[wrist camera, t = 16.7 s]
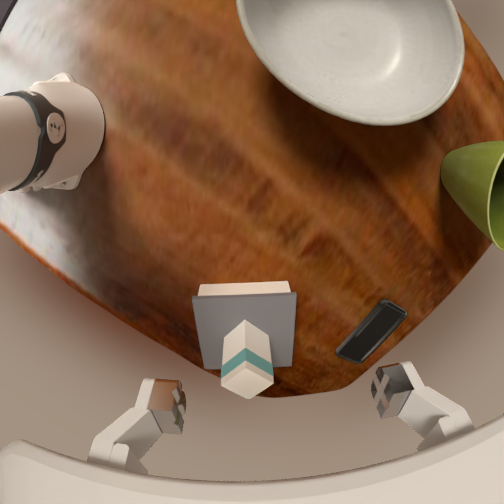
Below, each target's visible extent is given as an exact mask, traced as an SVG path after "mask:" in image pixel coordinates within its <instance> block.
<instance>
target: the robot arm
mask: <svg viewBox="0 0 504 504" xmlns="http://www.w3.org/2000/svg"><path fill="white" fill-rule="evenodd" d="M103 135H104V115H103V111H102V107H101V105H100V103H99V101H98V99H97V98H96V96H95V95H94V94H93V93H92V92H91V91H90V90H88V89H87V88H85V87H83V86H81V85H78V84H77V83H75V82H74V80H73V79H72V77H71V76H70V75H69V74H68V73H60V74H58V75H56V76H55V77H53V78H51V79H50V80H48V81H38V82H35V83H34V84H33V86H31V87H29V88H28V89H27V90H24V91H15V92H11V93H7V94H5V95H3V96H0V194H1V193H4V192H6V191H15V190H18V192H19V193H25V192H28V191H30V190H31V187H33V191H39V190H41V188H44V189H46V188H52V189H66V190H71V189H75V188H76V187H77V186H78V184H79V182H80V179H81V176H82V173H83V171H84V170H85V169H86V168H87V167H88V165H89V164H90V163H91V162H92V161H93V160H94V158H95V157H96V155H97V153H98V151H99V149H100V146H101V144H102V140H103ZM65 181H66V183H65ZM376 375H377V377H376V378H374V379H373V382H372V385H371V392H372V396H373V399H374V400H375V401H377V402H378V405H377V410H378V412H379V415H380V418H381V419H383V418H388V417H393V416H397V415H398V417H400V418H401V419H402V420H403V421H404V422H405V423H406V424H408V425H409V426H410V427H411V428H412V429H413V430H415V431H416V432H417V433H418V434H420V435H421V436H422V437H423V438H424V440H423V441H422V442H421V443H420V445H419V446H418V448H417V450H418V452H415V453H412V454H409V455H406V456H403V457H399V458H396V459H393V460H389V461H385V462H382V463H378V464H374V465H370V466H366V467H361V468H357V469H352V470H347V471H341V472H336V473H330V474H324V475H317V476H310V477H301V478H292V479H281V480H266V481H206V480H190V479H179V478H169V477H161V476H153V475H147V474H148V471H147V469H146V468H145V467H144V466H143V465H142V463H141V462H140V461H139V460H140V459H141V458H142V457H143V456H144V454H145V453H146V452H147V451H148V450H149V449H150V448H151V447H152V446H153V444H154V443H155V442H156V441H157V440H158V439H159V438H160V436H161V435H162V433H169V434H182V430H183V424H184V420H183V418H182V415H183V414H185V410H186V398H185V394H184V392H183V391H182V390H181V389H182V384H181V381H179V380H165V379H152V378H144V380H143V381H142V384H141V387H140V391H139V394H138V397H137V401H136V404H135V407H134V408H130V409H129V410H128V411H127V412H125V413H124V414H123V415H122V416H121V417H119V418H118V419H117V420H116V421H115V422H113V423H112V424H111V425H109V426H108V427H107V428H106V429H105V430H104V431H102V432H101V433H100V434H98V435H97V436H96V437H95V438H94V441H93V444H92V447H91V450H90V453H89V456H88V459H87V461H83V460H79V459H76V458H73V457H70V456H66V455H63V454H60V453H57V452H55V451H52V450H49V449H46V448H43V447H41V446H38V445H36V444H33V443H31V442H28V441H26V440H22V439H21V440H17V441H14V442H12V443H10V444H9V445H7V446H5V447H3V448H2V449H0V504H504V414H502V415H500V416H499V417H497V418H495V419H493V420H491V421H489V422H487V423H485V424H483V425H481V426H479V427H477V428H475V427H474V425H473V424H472V422H471V420H470V418H469V416H468V414H467V412H466V410H465V409H464V408H463V407H461V406H459V405H458V404H456V403H454V402H453V401H451V400H449V399H447V398H446V397H444V396H443V395H441V394H439V393H438V392H436V391H434V390H433V389H431V388H429V387H428V386H427V387H425V386H424V384H423V383H422V381H421V379H420V377H419V375H418V373H417V372H416V370H415V368H414V366H413V365H412V363H411V362H410V361H407V362H402V363H396V364H391V365H387V366H382V367H379V368H378V369H377V370H376Z"/></svg>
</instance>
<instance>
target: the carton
mask: <svg viewBox="0 0 504 504" xmlns="http://www.w3.org/2000/svg"><path fill="white" fill-rule="evenodd" d="M273 376H274V375H273V366H272V361H271V352H270V343H269V335H267V334H266V333H264V332H263V331H261V330H260V329H258V328H257V327H255V326H254V325H252V324H251V323H249V322H248V321H246V320H244V321H243V322H241V323H240V324H239V325H238V326H237V327H236V328H235V329H233V330H232V331H231V332H230V333H229V334H228V335H226V336H225V337H224V345H223V359H222V367H221V386H222V387H224V388H226V389H228V390H230V391H232V392H234V393H236V394H238V395H240V396H242V397H244V398H246V399H248V400H249V399H251V398H252V397H254V396H255V395H257V394H259V393H260V392H262V391H263V390H265V389H266V388H268V387H269V386H271V385H272V384H274V380H273Z"/></svg>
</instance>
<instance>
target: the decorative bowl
mask: <svg viewBox="0 0 504 504" xmlns="http://www.w3.org/2000/svg"><path fill="white" fill-rule="evenodd" d="M236 5H237V12H238V16H239V20H240V24H241V26H242V29H243V32H244V34H245V36H246V38H247V40H248V42H249V44H250V46H251V47H252V49H253V50H254V52H255V54H256V55H257V57H258V58H259V59H260V60H261V62H262V63H263V64H264V66H265V67H266V68H267V69H268V70H269V71H270V72H271V73H272V74H273V75H274V76H275V77H276V78H277V79H278V80H279V81H280V82H281V83H282V84H283V85H284V86H285V87H287V88H288V89H289V90H291V91H292V92H293V93H294V94H296V95H297V96H299V97H300V98H302V99H303V100H305V101H306V102H308V103H310V104H311V105H313V106H315V107H317V108H319V109H321V110H323V111H325V112H327V113H329V114H332V115H334V116H337V117H339V118H342V119H346V120H349V121H352V122H357V123H361V124H367V125H376V126H394V125H402V124H407V123H411V122H414V121H417V120H420V119H422V118H424V117H426V116H428V115H430V114H432V113H433V112H434V111H436V110H437V109H439V108H440V107H441V106H442V105H443V104H444V103H445V102H446V101H447V100H448V98H449V97H450V96H451V94H452V93H453V91H454V90H455V88H456V86H457V84H458V82H459V79H460V76H461V73H462V69H463V63H464V38H463V32H462V27H461V24H460V20H459V17H458V15H457V12H456V10H455V7H454V5H453V3H452V1H451V0H236Z"/></svg>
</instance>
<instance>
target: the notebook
mask: <svg viewBox="0 0 504 504" xmlns="http://www.w3.org/2000/svg"><path fill="white" fill-rule="evenodd" d="M16 1H17V0H0V30H1V28H2V26H3V24H4V22H5V20H6V19H7V17H8V15H9V13H10V11H11V9H12V8H13V6H14V4H15V2H16Z"/></svg>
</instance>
